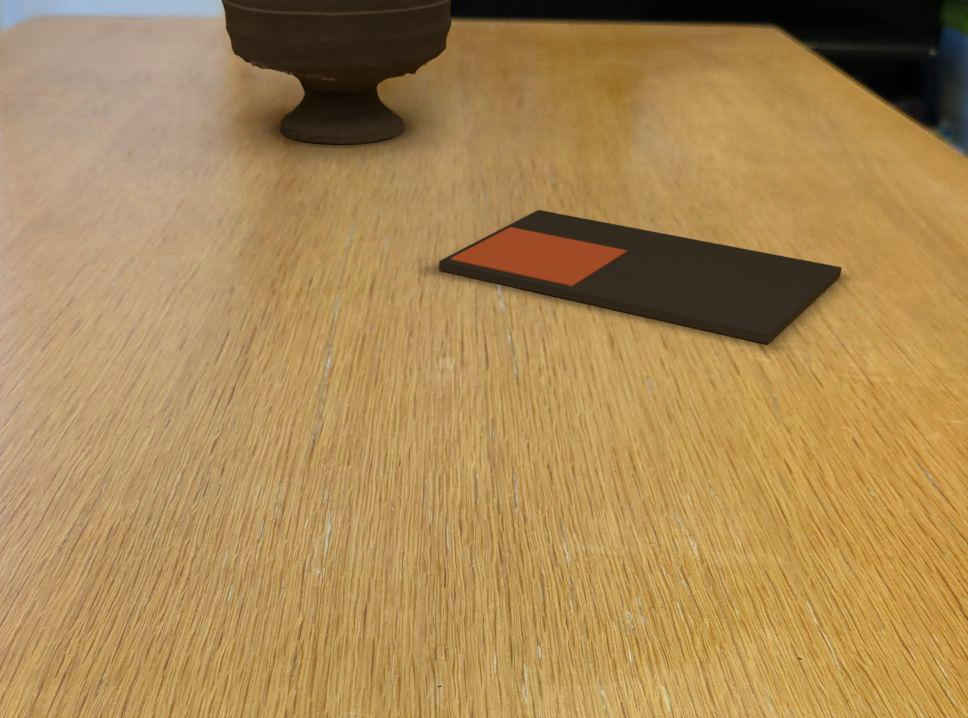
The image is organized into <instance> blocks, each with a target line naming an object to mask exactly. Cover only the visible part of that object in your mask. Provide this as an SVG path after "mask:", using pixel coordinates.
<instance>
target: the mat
mask: <svg viewBox="0 0 968 718" xmlns="http://www.w3.org/2000/svg"><path fill="white" fill-rule="evenodd" d="M438 269H439V271H441V272H446V273H451V274H453V275H454V274H455V275H458V276H463V277H467V278H472V279H477V280H482V281H486V282H490V283H495V284H499V285H504V286H508V287H512V288H516V289H521V290H526V291H530V292H533V293H534V292H536V293H538V294H543V295H548V296H552V297H555V298H561V299H565V300H569V301H575V302H579V303H584V304H586V305H592V306H595V307H596V306H597V307H601V308H605V309H610V310H614V311H618V312H622V313H627V314H631V315H636V316H639V317H645V318H650V319H654V320H659V321H663V322H668V323H672V324H677V325H681V326H684V327H688V328H689V327H690V328H694V329H699V330H703V331H707V332H712V333H715V334H721V335H725V336H730V337H734V338H739V339H743V340H747V341H752V342H756V343H760V344H765V345H769V344H770V343H771V342H772V341H773V340H774V339H775V338H776V337H778V335H780V334H781V333H782V331H784V330H785V329H787V327H788V326H790V324H791V323H792V322H793V321H795V320H796V319H797V318H798V317H799V316H800V315H801V314H802V313H803V312H804V311H805V310H806V309H807V308H809V307H810V305H812V303H814V302H815V301H816V300H817V299H818V298H819V297H820V296H821V295H822V294H823V293H824V292H825V291H826V290H827V289H829V288H830V287H831V286H832V285H833V284H834V283H835V282H836V281H837V280H838V279H839V278H840V277H841V273H842V269H843V267H841V266H836V265H832V264H827V263H822V262H816V261H815V262H814V261H811V260H806V259H800V258H794V257H790V256H784V255H780V254H779V255H778V254H774V253H769V252H764V251H758V250H754V249H753V250H752V249H747V248H742V247H736V246H731V245H726V244H720V243H716V242H711V241H706V240H699V239H694V238H689V237H685V236H679V235H674V234H668V233H663V232H657V231H652V230H647V229H642V228H636V227H632V226H626V225H620V224H615V223H610V222H605V221H599V220H594V219H590V218H589V219H588V218H583V217H578V216H573V215H568V214H563V213H557V212H552V211H547V210H542V209H537V210H534V211H533V212H531V213H529V214H527V215H525V216H523V217H522V218H519V219H517V220H516V221H514V222H512V223H510V224H508V225H506V226H504V227H502V228H501V229H499V230H496V231H494V232H492V233H490V234H489V235H487V236H485V237H483V238H481V239H478V240H477V241H475V242H473V243H471V244H469V245H467V246H466V247H464V248H461V249H459V250H458V251H455V252H454V253H452V254H449V255H448V256H446V257H444V258H442V259H440V260H439V261H438Z"/></svg>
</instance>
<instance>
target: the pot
mask: <svg viewBox="0 0 968 718" xmlns="http://www.w3.org/2000/svg"><path fill="white" fill-rule="evenodd" d="M451 2H452V0H221V4H222V7H223V10H224V16H225V30H226V32H227V35H228V37H229V40H230V45H231V46H230V47H231V50H232V52H233V54H234V56H237V57H239V58H240V59H242V60H243V61H244V62H245V63H248V64H251V66H252V67H256V68H258V69H261V70H271V71H276V72H280V73H284V74H287V75H289V76H293V77H295V78H296V79H297V80H298V81H299V83H300V85H301V87H302V89H303V91H304V94H303V97H302V99H301V100H300V102H299V103H298V105H297V106H295V107H294V109H293V110H290V111H289V112H288V113H285V114H284V115H283V117H282V118H281V119H280V126H279V132H280V133H281V135H283V136H284V137H285V138H288V139H290V140H292V141H295V140H297V141H299V142H305V143H306V142H307V143H312V144H313V143H315V144H327V145H358V144H360V145H361V144H370V143H377V142H380V141H385V140H389V139H393V138H396V137H397V136H399V135H402V134H403V133H404V131H405V130H406V128H405V123H404V120H403V118H402V117H401V115H399V114H398V113H396V111H395V112H394V110H392V109H390V108H389V107H388V106H387V105H386V104H385V103H384V102H383V101H382V100H381V98H380V96H379V93H378V86H379V84H381V83H383V82H384V81H386V80H388V79H389V80H390V79H395V78H403V77H405V75H407V74H410V75H416V73H417V72H418V70H419V69H420V68H421V67H423V66H426V65H427V64H428V63H430V62H431V61H432V60H435V59H437V58H438V57H439V56H440V55H441V54H442V53H443V52H445V51H446V49H447V42H448V41H447V40H448V35H449V33H450V30H451V28H452V24H453V23H452V17H451V5H452V3H451Z"/></svg>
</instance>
